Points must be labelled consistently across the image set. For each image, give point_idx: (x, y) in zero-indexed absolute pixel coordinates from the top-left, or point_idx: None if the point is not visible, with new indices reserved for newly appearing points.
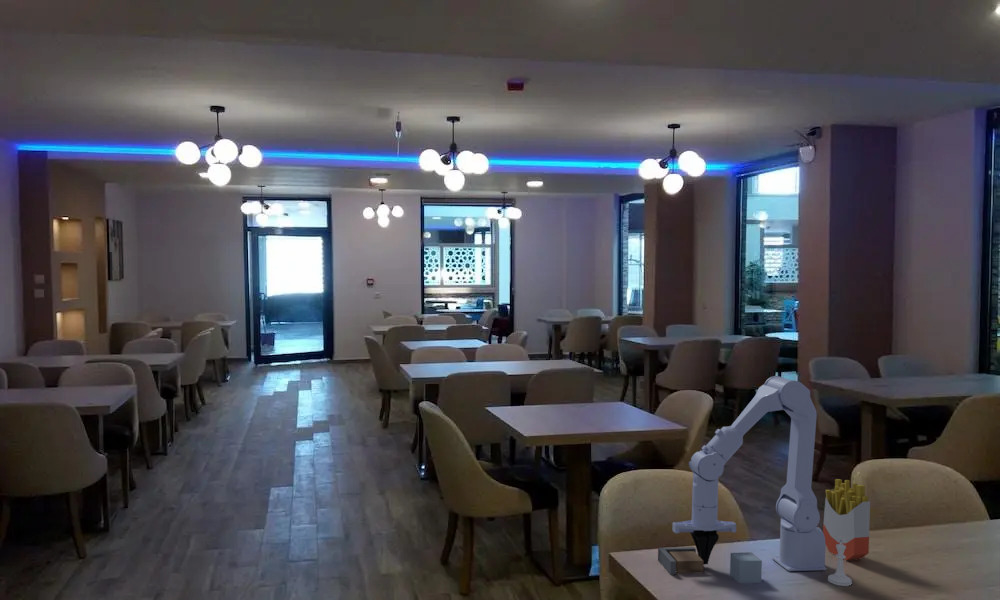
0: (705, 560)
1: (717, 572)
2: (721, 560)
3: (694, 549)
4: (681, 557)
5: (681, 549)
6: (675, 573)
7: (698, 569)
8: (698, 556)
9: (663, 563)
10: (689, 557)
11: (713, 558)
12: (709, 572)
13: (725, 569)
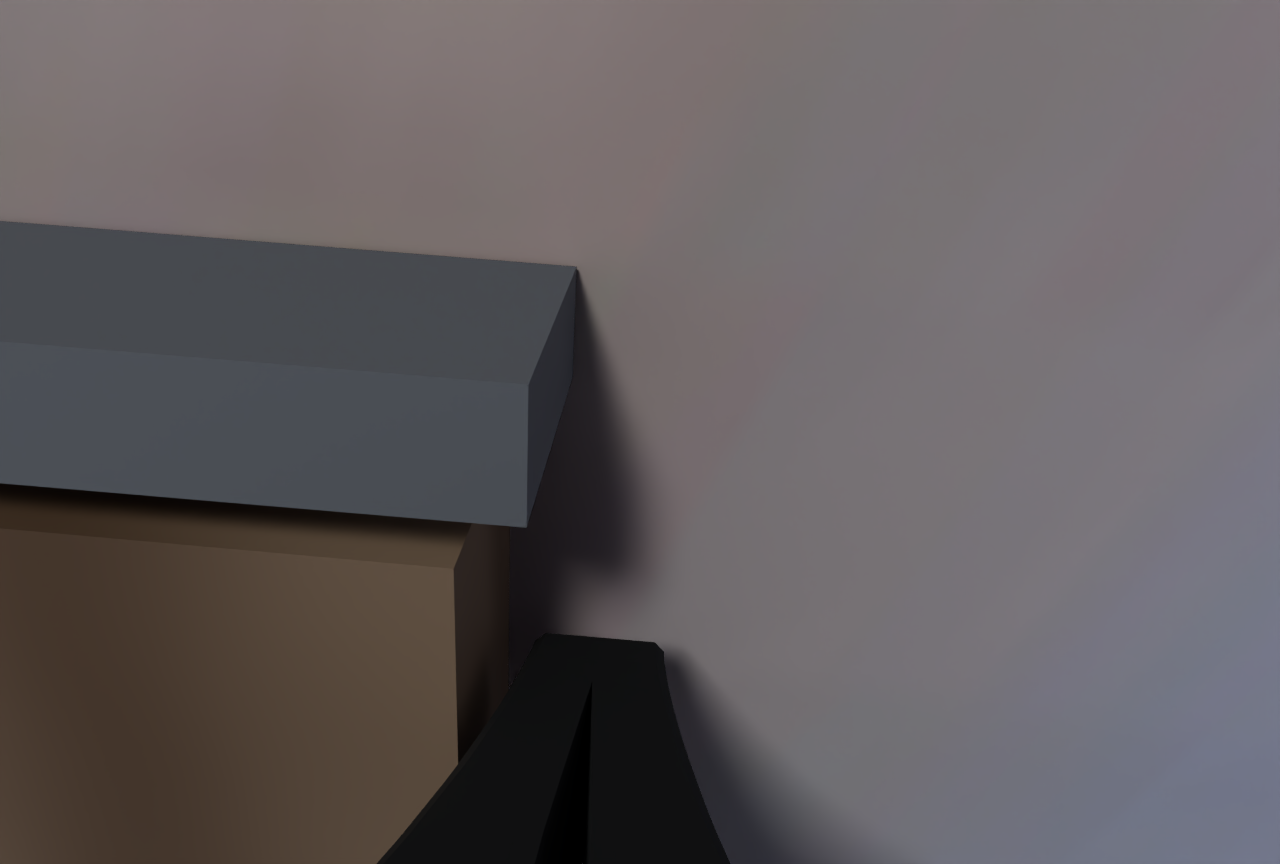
0: (580, 859)
1: (743, 843)
2: (1203, 393)
3: (489, 517)
4: (35, 836)
5: (89, 481)
6: None
7: None
8: None
9: None
10: (215, 860)
11: (1104, 252)
12: None
13: (955, 773)
